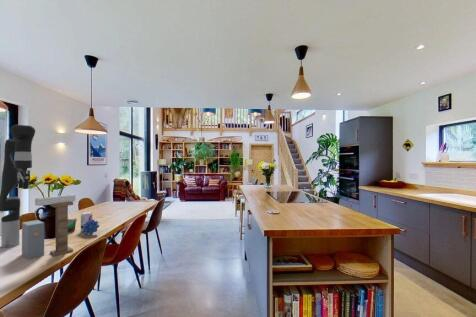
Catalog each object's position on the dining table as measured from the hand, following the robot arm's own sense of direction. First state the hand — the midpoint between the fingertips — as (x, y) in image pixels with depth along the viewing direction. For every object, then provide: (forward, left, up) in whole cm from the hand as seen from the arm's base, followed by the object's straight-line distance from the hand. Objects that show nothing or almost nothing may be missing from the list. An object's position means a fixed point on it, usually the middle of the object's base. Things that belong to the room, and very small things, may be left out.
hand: (23, 188), depth 140 cm
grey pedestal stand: (-2, +20, -43) cm, 47 cm away
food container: (-52, +40, -43) cm, 79 cm away
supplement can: (-40, +50, -43) cm, 77 cm away
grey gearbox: (-12, +8, -43) cm, 45 cm away
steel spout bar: (-2, +17, -11) cm, 20 cm away
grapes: (-27, +48, -43) cm, 70 cm away
